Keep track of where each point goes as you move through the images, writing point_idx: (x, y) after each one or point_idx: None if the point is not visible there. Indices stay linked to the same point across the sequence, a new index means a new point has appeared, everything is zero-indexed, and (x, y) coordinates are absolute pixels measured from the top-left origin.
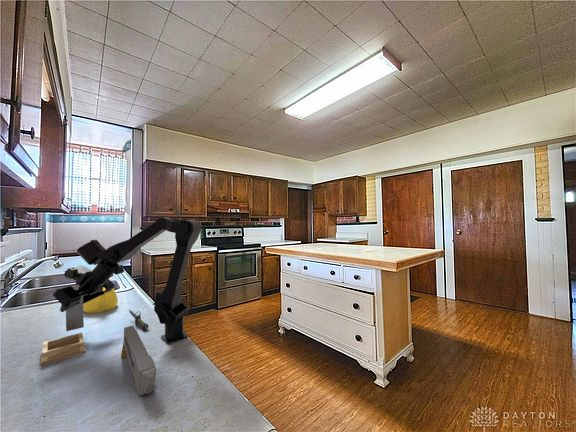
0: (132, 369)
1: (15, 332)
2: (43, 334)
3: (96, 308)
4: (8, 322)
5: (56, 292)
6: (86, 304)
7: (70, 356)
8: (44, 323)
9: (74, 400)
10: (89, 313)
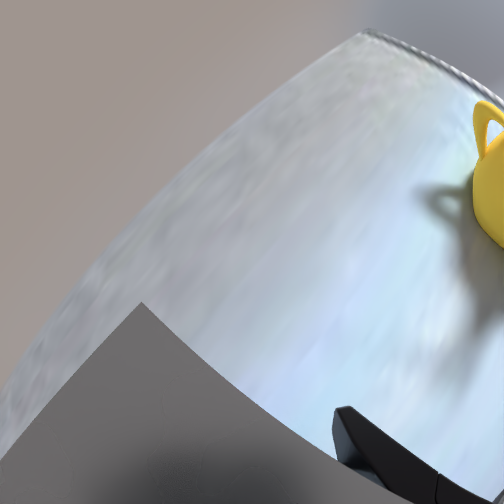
0: None
1: (264, 124)
2: (260, 234)
3: (501, 231)
4: (320, 64)
5: None
6: (488, 179)
7: None
8: (350, 140)
9: None
10: (475, 215)
